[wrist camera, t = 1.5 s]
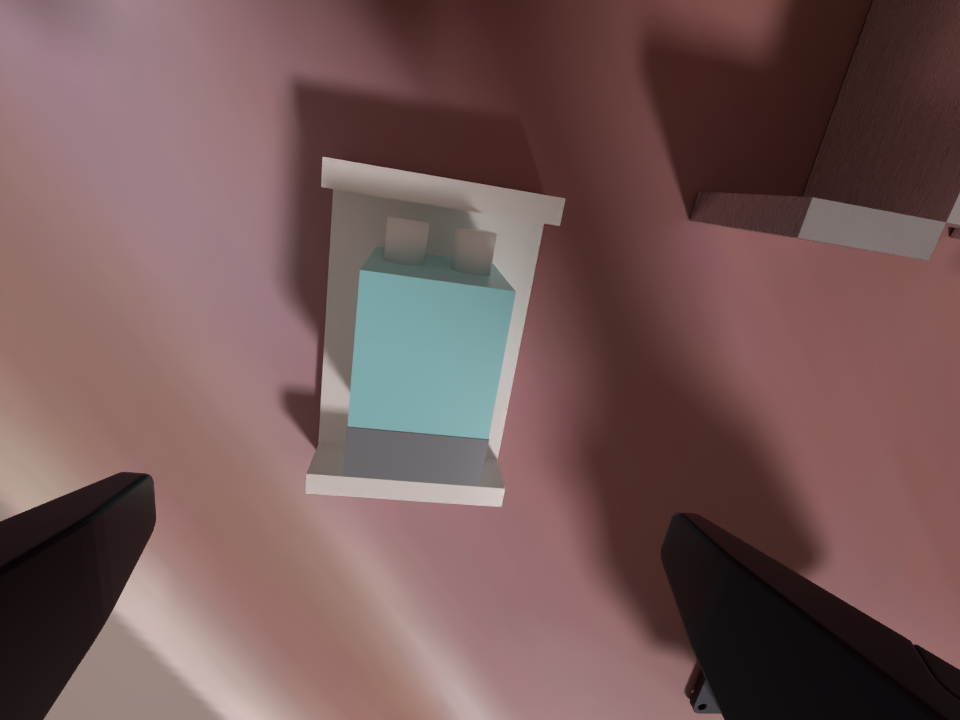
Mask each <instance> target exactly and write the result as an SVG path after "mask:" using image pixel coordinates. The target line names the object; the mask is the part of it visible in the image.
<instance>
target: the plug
mask: <svg viewBox="0 0 960 720" xmlns="http://www.w3.org/2000/svg"><path fill="white" fill-rule="evenodd" d="M428 229H429V222H426V221H422V220H417V219H411V218H405V217H397V216H387V225H386V236H385V246H384V248H381V247H376V248H375V249H374V251H373V252H372V254H371V255H370V256H369V258H368V259H367V261H366V262H365V263H364V265H363V266H362V268H361V269H360V276H359V288H358V301H357V313H356V326H355V338H354V350H353V363H352V375H351V388H350V400H349V413H348V424H347V428H346V440H345V453H344V465H343V477H355V478H369V479H382V480H395V481H408V482H422V483H435V484H448V485H462V486H475V487H480V486H481V480H482V475H483V470H484V464H485V459H486V454H487V448H488V443H489V433H490V428H491V423H492V417H493V412H494V407H495V401H496V396H497V391H498V385H499V380H500V374H501V369H502V364H503V358H504V353H505V348H506V342H507V337H508V332H509V326H510V321H511V316H512V310H513V305H514V300H515V294H516V291H515V290H514V289H513V287H512V286H511V285H510V284H509V282H508V281H507V280H506V279H505V278H504V276H503V275H502V274H501V273H500V272H499V270H498V269H497V268H496V267H495V265H494V264H492V260H493V254H494V248H495V242H496V236H497V233H494V232H490V231H486V230H481V229H475V228H468V227H457V228H456V235H455V242H454V249H453V256H452V258H449V257H443V256H436V255H429V254H425V253H426V245H427V237H428Z"/></svg>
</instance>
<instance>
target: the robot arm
mask: <svg viewBox="0 0 960 720" xmlns="http://www.w3.org/2000/svg"><path fill="white" fill-rule="evenodd" d="M155 523H156V507H155V492H154V482H153V479H152V477H151V476H150V475H149V474H146V473H132V472H120V473H118V474H115V475H113V476H110V477H108V478H105V479H103V480H100V481H98V482H96V483H93V484H91V485H88V486H86V487H83V488H81V489H79V490H76V491H74V492H71V493H69V494H66V495H64V496H61V497H59V498H57V499H54V500H52V501H49V502H47V503H44V504H42V505H39V506H37V507H35V508H32V509H30V510H27V511H25V512H22V513H20V514H17V515H15V516H13V517H10V518H8V519H5V520H3V521H0V720H43V719H44V718H45V716H46V715H47V713H48V712H49V710H50V709H51V707H52V706H53V704H54V702H55V701H56V699H57V698H58V696H59V695H60V693H61V692H62V690H63V689H64V687H65V686H66V684H67V682H68V681H69V679H70V678H71V676H72V674H73V673H74V672H75V670H76V668H77V667H78V665H79V664H80V662H81V661H82V659H83V658H84V656H85V655H86V653H87V652H88V650H89V649H90V647H91V645H92V644H93V642H94V641H95V639H96V638H97V636H98V634H99V633H100V631H101V630H102V628H103V626H104V625H105V622H106V621H107V619H108V618H109V616H110V614H111V612H112V610H113V608H114V606H115V605H116V603H117V601H118V599H119V597H120V595H121V593H122V591H123V589H124V587H125V585H126V583H127V581H128V579H129V577H130V575H131V573H132V571H133V569H134V567H135V566H136V564H137V562H138V560H139V558H140V556H141V554H142V552H143V550H144V548H145V546H146V544H147V542H148V540H149V538H150V536H151V534H152V532H153V530H154V527H155ZM661 559H662V563H663V566H664V569H665V572H666V575H667V578H668V581H669V584H670V587H671V590H672V593H673V595H674V598H675V601H676V604H677V607H678V610H679V613H680V616H681V619H682V622H683V625H684V628H685V630H686V633H687V636H688V638H689V641H690V643H691V646H692V648H693V651H694V653H695V655H696V658H697V660H698V662H699V664H700V666H701V669H702V673H701V675H700V677H699V680H698V682H697V685H696V687H695V689H694V692H693V694H692V696H691V699H690V704H691V706H692V708H693V710H694V712H696V713H721V714H722V716H723V718H724V720H960V670H959V669H957V668H956V667H954V666H952V665H951V664H949V663H947V662H945V661H944V660H942V659H940V658H939V657H937V656H935V655H934V654H932V653H930V652H929V651H927V650H925V649H924V648H922V647H920V646H919V645H913V644H912V642H911V641H910V640H908V639H907V638H905V637H903V636H902V635H900V634H898V633H897V632H895V631H893V630H892V629H890V628H888V627H887V626H885V625H883V624H881V623H880V622H878V621H876V620H875V619H873V618H871V617H870V616H868V615H866V614H865V613H863V612H861V611H860V610H858V609H856V608H855V607H853V606H851V605H850V604H848V603H846V602H845V601H843V600H841V599H840V598H838V597H836V596H835V595H833V594H831V593H829V592H828V591H826V590H824V589H823V588H821V587H819V586H818V585H816V584H814V583H813V582H811V581H809V580H808V579H806V578H804V577H803V576H801V575H799V574H798V573H796V572H794V571H793V570H791V569H789V568H788V567H786V566H784V565H783V564H781V563H779V562H777V561H776V560H774V559H772V558H771V557H769V556H767V555H766V554H764V553H762V552H761V551H759V550H757V549H756V548H754V547H752V546H751V545H749V544H747V543H746V542H744V541H742V540H741V539H739V538H737V537H736V536H734V535H732V534H731V533H729V532H727V531H725V530H724V529H722V528H720V527H719V526H717V525H715V524H714V523H712V522H710V521H709V520H707V519H705V518H704V517H702V516H700V515H698V514H693V513H676V514H675V515H674V516H673V517H672V519H671V521H670V524H669V527H668V530H667V533H666V536H665V539H664V542H663V545H662V548H661Z"/></svg>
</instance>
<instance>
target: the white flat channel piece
mask: <svg viewBox="0 0 960 720" xmlns="http://www.w3.org/2000/svg"><path fill="white" fill-rule="evenodd" d="M321 187H323V188H330V189H333V200H332V218H331V235H330V252H329V269H328V286H327V303H326V320H325V337H324V355H323V372H322V389H321V406H320V423H319V440H318V446H317V449H316V451H315V454H314V456H313V459H312V461H311V464H310V466H309V469H308V471H307V475H306V493H307V494H321V495H336V496H350V497H365V498H379V499H393V500H408V501H422V502H437V503H451V504H466V505H480V506H494V507H501V506H502V501H503V497H504V492H505V486H504V482H503V479H502V475H501V471H500V467H499V463H498V454H499V449H500V444H501V439H502V434H503V429H504V424H505V419H506V414H507V409H508V404H509V399H510V394H511V389H512V384H513V379H514V374H515V368H516V363H517V358H518V353H519V348H520V343H521V338H522V333H523V328H524V323H525V318H526V313H527V308H528V303H529V298H530V293H531V288H532V283H533V278H534V272H535V267H536V262H537V257H538V252H539V247H540V242H541V237H542V232H543V227H544V223H545V224H551V225H557V226H560V223H561V219H562V214H563V209H564V204H565V199H566V198H560V197H554V196H548V195H542V194H537V193H531V192H525V191H519V190H513V189H508V188H502V187H496V186H490V185H484V184H479V183H473V182H467V181H461V180H455V179H450V178H444V177H438V176H432V175H426V174H420V173H415V172H409V171H403V170H397V169H391V168H386V167H380V166H374V165H368V164H362V163H357V162H351V161H345V160H339V159H333V158H328V157H323V158H322V178H321ZM387 216H397V217H405V218H411V219H417V220H422V221H426V222H429V229H428V237H427V245H426V253H425V254H429V255H436V256H443V257H449V258H452V256H453V249H454V242H455V235H456V228H457V227H468V228H475V229H481V230H486V231H490V232H494V233H497V236H496V242H495V248H494V254H493V260H492V264H494V265H495V267H496V268H497V269H498V270H499V272H500V273H501V274H502V275H503V276H504V278H505V279H506V280H507V281H508V282H509V284H510V285H511V286H512V287H513V289H514V290H515V291H516V294H515V300H514V305H513V310H512V316H511V321H510V326H509V332H508V337H507V342H506V348H505V353H504V358H503V364H502V369H501V374H500V380H499V385H498V391H497V396H496V401H495V407H494V412H493V417H492V423H491V428H490V433H489V443H488V448H487V454H486V459H485V464H484V470H483V475H482V480H481V486H480V487H475V486H462V485H448V484H435V483H422V482H408V481H395V480H382V479H369V478H355V477H343V465H344V453H345V440H346V428H347V424H348V413H349V400H350V388H351V375H352V363H353V350H354V338H355V326H356V313H357V301H358V288H359V276H360V269H361V268H362V266H363V265H364V263H365V262H366V261H367V259H368V258H369V256H370V255H371V254H372V252H373V251H374V249H375V248H376V247H381V248H384V246H385V236H386V225H387Z"/></svg>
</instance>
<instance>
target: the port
mask: <svg viewBox="0 0 960 720" xmlns="http://www.w3.org/2000/svg"><path fill="white" fill-rule="evenodd" d="M690 220H691V221H697V222H703V223H708V224H714V225H720V226H726V227H732V228H738V229H743V230H749V231H755V232H761V233H767V234H772V235H778V236H784V237H790V238H796V239H802V240H808V241H814V242H820V243H826V244H832V245H839V246H845V247H851V248H857V249H863V250H869V251H875V252H881V253H887V254H893V255H899V256H905V257H911V258H917V259H923V260H929V259H930V257H931V254H932V252H933V250H934V248H935V246H936V243H937V241H938V239H939V237H940V235H941V233H942V230H943V228H944V227H954V230H953V232H952V234H951V236H950V237H951V238H956V239H960V0H873V2H872V5H871V8H870V11H869V13H868V16H867V19H866V22H865V24H864V27H863V30H862V33H861V35H860V38H859V41H858V44H857V47H856V49H855V52H854V55H853V58H852V60H851V63H850V66H849V69H848V72H847V74H846V77H845V80H844V83H843V85H842V88H841V91H840V94H839V96H838V99H837V102H836V105H835V108H834V110H833V113H832V116H831V119H830V121H829V124H828V127H827V130H826V133H825V135H824V138H823V141H822V144H821V146H820V149H819V152H818V155H817V157H816V160H815V163H814V166H813V169H812V171H811V174H810V177H809V180H808V182H807V185H806V188H805V191H804V193H803V196H802V197H797V196H778V195H759V194H739V193H720V192H700V191H698V194H697V197H696V201H695V204H694V208H693V211H692V214H691V218H690Z"/></svg>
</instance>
